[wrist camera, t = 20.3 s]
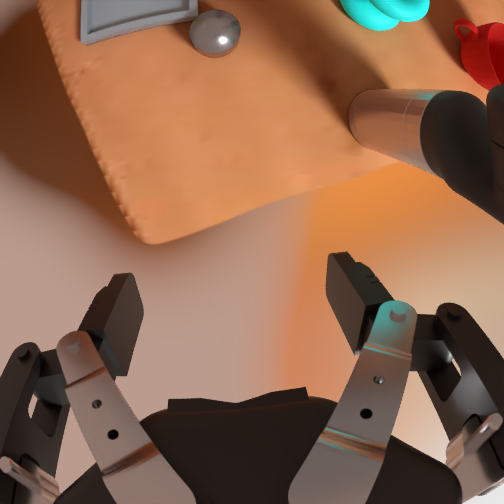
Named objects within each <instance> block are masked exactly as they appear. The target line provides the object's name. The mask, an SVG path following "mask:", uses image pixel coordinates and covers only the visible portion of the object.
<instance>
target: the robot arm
mask: <svg viewBox="0 0 504 504" xmlns="http://www.w3.org/2000/svg"><path fill="white" fill-rule="evenodd" d="M486 105H487V107H486ZM486 105H485V104H484V103H483V102H482V101H481V100H480V99H478V98H477V97H476V96H474V95H472V94H469V93H467V92H462V91H451V90H431V89H430V90H427V89H374V90H367V91H364V92H362V93H360V94H359V95H357V96H356V98H355V99H354V100H353V101H352V103H351V105H350V108H349V112H348V122H349V127H350V130H351V132H352V134H353V136H354V138H355V139H356V140H357V141H358V142H359V143H360V144H361V145H363V146H365V147H366V148H369V149H372V150H374V151H377V152H380V153H382V154H385V155H387V156H390V157H393V158H395V159H398V160H400V161H403V162H405V163H408V164H410V165H413V166H415V167H417V168H420V169H422V170H424V171H427V172H429V173H431V174H434V175H436V176H438V177H440V178H442V179H444V181H445V182H446V183H447V184H448V186H449V187H450V188H451V189H452V190H453V191H455V192H456V193H458V194H459V195H461V196H463V197H464V198H466V199H467V200H469V201H470V202H472V203H474V204H475V205H477V206H478V207H480V208H481V209H483V210H484V211H485V212H487V213H488V214H489V215H491V216H492V217H494V218H495V219H496V220H498V221H499V222H501V223H502V224H504V83H501V84H499V85H496V86H494V87H493V88H492V89H490V91H489V93H488V95H487V98H486ZM327 263H328V264H327V276H326V295H327V299H328V301H329V303H330V305H331V307H332V309H333V311H334V314H335V316H336V318H337V320H338V322H339V324H340V326H341V328H342V330H343V332H344V334H345V336H346V339H347V341H348V343H349V345H350V347H351V349H352V351H353V353H354V355H358V354H360V355H359V358H358V360H357V362H356V365H355V367H354V369H353V372H352V374H351V376H350V378H349V381H348V383H347V385H346V387H345V389H344V391H343V394H342V396H341V398H340V400H339V402H338V403H337V402H334V401H332V400H329V399H325V398H320V397H313V396H308V394H307V390H306V387H302V388H296V389H289V390H283V391H275V392H270V393H267V394H265V395H261V396H259V397H255V398H252V399H249V400H246V401H243V402H239V403H231V402H223V401H217V400H210V399H204V398H191V399H169V400H168V409H164V410H161V411H158V412H155V413H153V414H151V415H149V416H147V417H146V418H144V419H143V420H141V421H139V420H138V419H137V417H136V415H135V414H134V412H133V411H132V409H131V408H130V406H129V405H128V403H127V401H126V400H125V398H124V397H123V395H122V393H121V392H120V390H119V388H118V387H117V385H116V383H115V379H116V376H127V374H128V370H129V366H130V362H131V358H132V355H133V351H134V347H135V344H136V340H137V337H138V333H139V330H140V326H141V323H142V320H143V314H144V310H143V304H142V301H141V298H140V294H139V291H138V288H137V284H136V281H135V278H134V275H133V274H132V273H121V274H114V275H113V277H112V279H111V281H110V283H109V284H108V286H107V287H104V288H102V289H101V290H100V291H99V292H98V293H97V294H96V296H95V297H94V300H93V301H92V304H91V305H90V307H89V310H88V311H87V313H86V314H85V316H84V318H83V320H82V323H81V325H80V326H79V329H78V330H77V331H73V332H70V333H68V334H67V335H65V336H64V337H62V339H61V340H60V341H59V342H58V344H57V348H56V349H53V350H49V351H45V352H41V351H40V349H39V348H38V346H37V345H36V344H35V343H32V342H28V343H24V344H22V345H20V346H19V347H17V348H16V349H15V350H14V352H13V353H12V355H11V357H10V359H9V361H8V363H7V365H6V367H5V369H4V371H3V373H2V375H1V377H0V504H462V503H464V502H466V501H467V500H469V499H471V498H473V497H474V496H476V495H477V496H482V495H485V494H487V493H489V492H490V491H492V490H494V489H495V488H497V487H498V486H500V485H501V484H503V483H504V359H503V358H502V356H501V355H500V353H499V352H498V351H497V349H496V348H495V346H494V345H493V344H492V342H491V341H490V340H489V338H488V337H487V336H486V334H485V333H484V332H483V330H482V329H481V328H480V327H479V325H478V324H477V323H476V321H475V320H474V319H473V318H472V316H471V315H470V314H469V313H468V312H467V310H466V309H464V308H463V307H461V306H460V305H457V304H455V303H444V304H441V305H440V306H439V307H438V309H437V312H436V314H435V315H427V314H417V313H416V311H415V309H414V308H413V307H412V306H410V305H409V304H407V303H405V302H402V301H396V300H394V299H393V297H392V296H391V295H390V294H389V292H388V291H387V290H386V288H385V287H384V286H383V284H382V283H381V282H380V281H379V279H378V278H377V277H376V276H375V274H374V273H373V272H372V270H371V269H370V268H369V267H367V266H366V265H364V264H362V263H361V262H355V261H354V260H353V258H352V257H351V256H350V254H349V253H348V252H339V253H330V254H329V256H328V262H327ZM453 358H454V359H455V361H456V363H457V364H458V366H459V368H460V371H461V376H460V374H459V372H458V371H457V369H456V367H455V366H454V364H453V363H452V361H451V360H452V359H453ZM409 371H417V372H418V374H419V376H420V378H421V380H422V382H423V384H424V386H425V388H426V390H427V392H428V394H429V396H430V398H431V400H432V403H433V405H434V407H435V409H436V411H437V413H438V416H439V418H440V420H441V422H442V424H443V427H444V429H445V431H446V434H447V436H448V438H449V441H450V442H449V444H448V446H447V449H446V457H447V460H446V465H445V464H443V463H442V462H440V461H438V460H436V459H434V458H432V457H430V456H428V455H426V454H424V453H423V452H421V451H419V450H417V449H415V448H413V447H412V446H410V445H408V444H406V443H404V442H403V441H401V440H399V439H398V438H396V437H394V436H392V435H391V433H392V430H393V427H394V424H395V420H396V417H397V414H398V411H399V408H400V404H401V401H402V397H403V393H404V390H405V386H406V382H407V378H408V373H409ZM33 394H34V395H35V396H36V397H37V399H38V400H37V403H36V406H35V409H34V412H33V415H32V418H30V417H29V413H28V407H29V403H30V401H31V398H32V395H33ZM70 406H71V407H72V410H73V412H74V415H75V417H76V419H77V422H78V424H79V427H80V429H81V431H82V433H83V435H84V438H85V440H86V442H87V444H88V446H89V448H90V450H91V452H92V454H93V456H94V458H95V460H96V463H95V464H94V465H93V466H91V467H90V468H89V469H88V470H87V471H86V472H85V473H84V474H83V475H82V476H81V477H80V478H78V479H77V480H76V481H75V482H74V483H73V484H72V485H71V486H69V487H68V488H67V489H66V490H65V491H64V492H63V493H60V492H59V486H58V484H57V482H56V480H55V474H56V468H57V463H58V458H59V452H60V448H61V443H62V438H63V434H64V430H65V425H66V421H67V417H68V413H69V409H70Z"/></svg>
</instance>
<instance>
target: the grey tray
mask: <svg viewBox="0 0 504 504" xmlns="http://www.w3.org/2000/svg"><path fill="white" fill-rule="evenodd" d="M197 16H199V8H198V0H82V2H81V44H84V45H87V46H88V45H90V44H94V43H97V42H100V41H103V40H106V39H110V38H113V37H117V36H120V35H124V34H128V33H132V32H136V31H140V30H145V29H149V28H154V27H159V26H164V25H170V24H176V23H182V22H189V21H194V19H195V18H196V17H197Z"/></svg>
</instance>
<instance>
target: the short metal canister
mask: <svg viewBox="0 0 504 504" xmlns="http://www.w3.org/2000/svg"><path fill="white" fill-rule="evenodd" d="M189 34H190V38H191V41H192V43H193V45H194V47H195V49H196V50H197V51H198V52H199V53H200V54H202V55H204V56H206V57H211V58H218V57H223V56H225V55H227V54H229V53H231V52H232V51H233V50H234V49H235V47H236V46H237V44H238V41H239V36H240V24H239V22H238V20H237V19H236V17H235V16H233V15H232V14H231V13H229V12H227V11H223V10H210V11H206V12H204V13H202V14H200V15H199V16H197V17H196V18H195V19H194V21H193V22H192V24H191V26H190V31H189Z"/></svg>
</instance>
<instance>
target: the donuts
mask: <svg viewBox="0 0 504 504" xmlns="http://www.w3.org/2000/svg"><path fill="white" fill-rule="evenodd" d="M340 2H341V5H342V7H343V8H344V10H345V11H346V13H347V14H348V15H349V16H350V17H351V18H352V19H353V20H354V21H355V22H357V23H358V24H360V25H362V26H364V27H366V28H368V29H372V30H377V31H384V30H389V29H391V28H393V27H395V26H396V25H397V24H398V23H399V21H403V22H413V21H417V20H419V19H421V18H423V17H424V16H425V15H426V13H427V11H428V9H429V3H430V1H429V0H340Z"/></svg>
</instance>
